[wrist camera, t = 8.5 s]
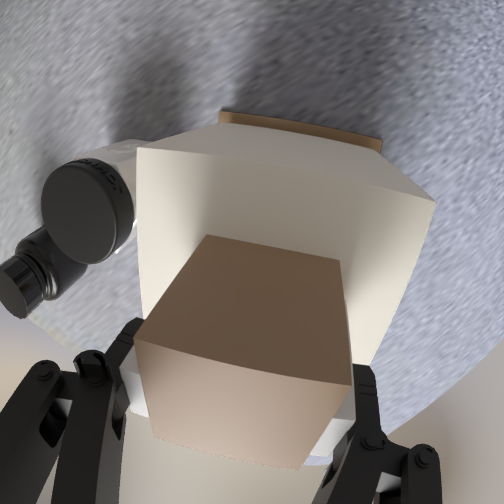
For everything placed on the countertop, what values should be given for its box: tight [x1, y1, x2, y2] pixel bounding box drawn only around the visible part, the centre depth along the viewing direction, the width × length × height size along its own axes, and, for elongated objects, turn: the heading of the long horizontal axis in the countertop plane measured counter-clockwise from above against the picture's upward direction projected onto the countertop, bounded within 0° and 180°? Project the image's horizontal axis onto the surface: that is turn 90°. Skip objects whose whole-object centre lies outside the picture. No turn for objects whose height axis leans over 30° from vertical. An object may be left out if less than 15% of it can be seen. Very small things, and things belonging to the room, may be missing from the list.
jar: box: [41, 139, 151, 264], centre depth 26 cm, size 9×8×12 cm
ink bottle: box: [0, 225, 87, 319], centre depth 33 cm, size 10×9×12 cm
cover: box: [133, 122, 437, 470], centre depth 19 cm, size 13×13×22 cm
